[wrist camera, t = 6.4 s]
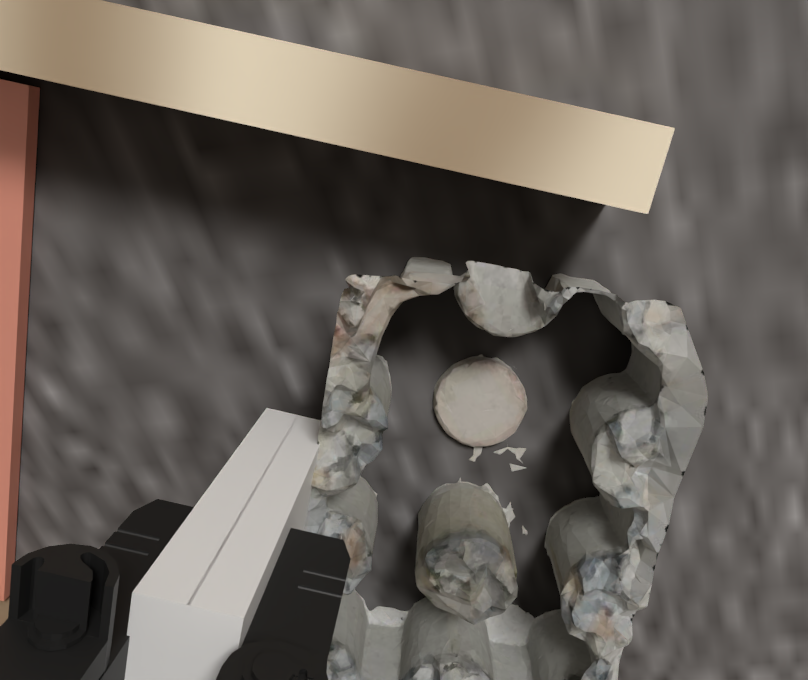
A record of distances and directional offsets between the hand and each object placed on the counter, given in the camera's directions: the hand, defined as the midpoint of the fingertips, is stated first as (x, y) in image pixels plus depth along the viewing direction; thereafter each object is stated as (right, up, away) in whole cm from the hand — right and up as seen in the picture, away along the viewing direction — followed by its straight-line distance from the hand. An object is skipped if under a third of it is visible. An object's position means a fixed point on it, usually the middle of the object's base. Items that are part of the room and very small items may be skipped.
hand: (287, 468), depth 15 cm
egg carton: (+5, 0, +2) cm, 5 cm away
